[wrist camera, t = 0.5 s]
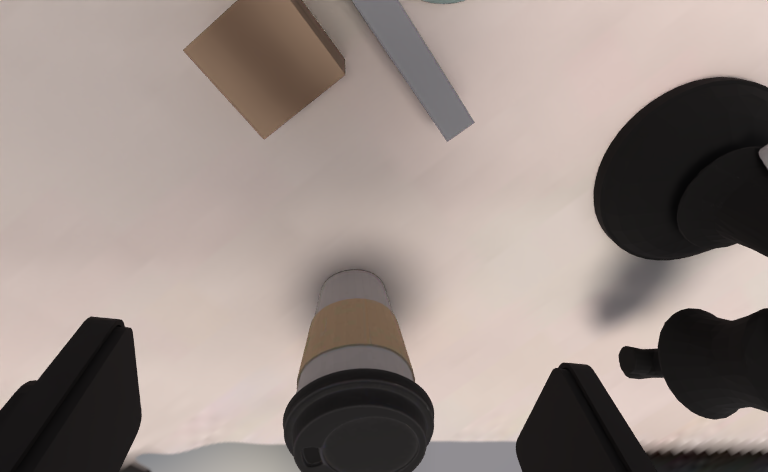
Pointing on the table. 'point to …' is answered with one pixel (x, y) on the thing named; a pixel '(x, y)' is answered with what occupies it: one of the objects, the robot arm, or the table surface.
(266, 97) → the cube
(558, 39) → the table surface
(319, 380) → the coffee cup
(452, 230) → the table surface
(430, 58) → the bar
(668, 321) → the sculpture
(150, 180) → the table surface
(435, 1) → the mat
